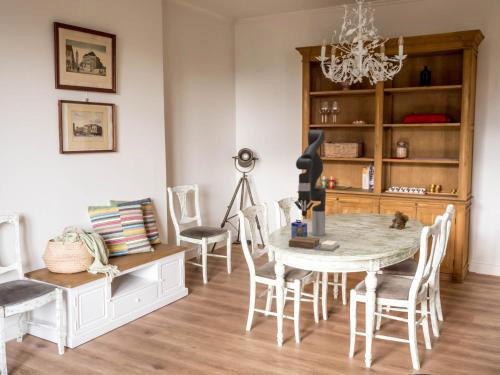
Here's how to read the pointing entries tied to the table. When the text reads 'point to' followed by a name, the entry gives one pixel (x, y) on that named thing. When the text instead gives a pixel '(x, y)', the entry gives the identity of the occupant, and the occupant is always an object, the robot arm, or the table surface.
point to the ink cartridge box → (298, 229)
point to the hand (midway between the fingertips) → (304, 216)
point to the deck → (304, 242)
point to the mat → (324, 249)
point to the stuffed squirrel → (399, 220)
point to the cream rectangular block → (329, 245)
